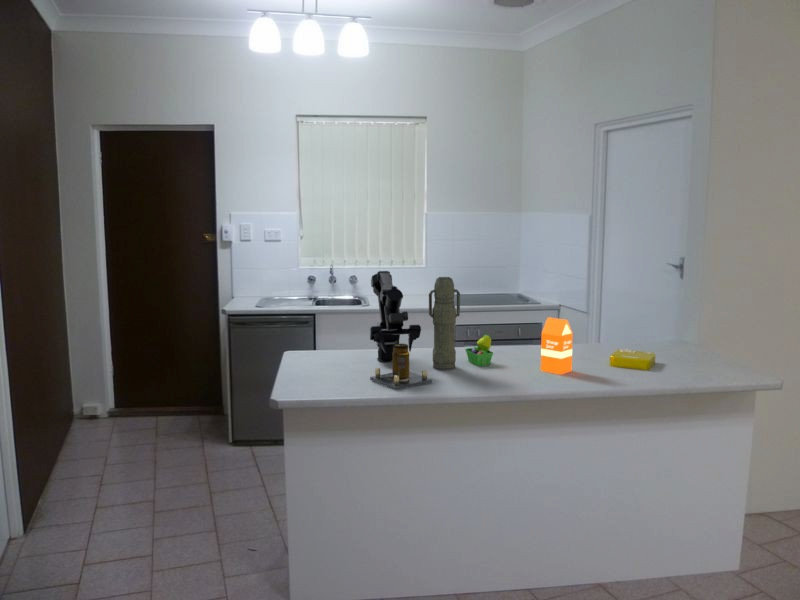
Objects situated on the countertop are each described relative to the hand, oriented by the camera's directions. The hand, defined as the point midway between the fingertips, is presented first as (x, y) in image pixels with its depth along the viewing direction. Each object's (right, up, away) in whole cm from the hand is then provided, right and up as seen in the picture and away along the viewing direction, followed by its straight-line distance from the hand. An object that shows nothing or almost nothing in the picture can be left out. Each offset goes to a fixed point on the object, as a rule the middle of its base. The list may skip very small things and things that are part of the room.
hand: (397, 351), depth 247 cm
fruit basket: (+33, -6, +21) cm, 40 cm away
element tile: (+92, -7, +18) cm, 94 cm away
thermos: (+18, -7, +15) cm, 24 cm away
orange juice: (+60, -8, +9) cm, 61 cm away
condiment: (+1, -9, -5) cm, 11 cm away
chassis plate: (+1, -10, -5) cm, 11 cm away
